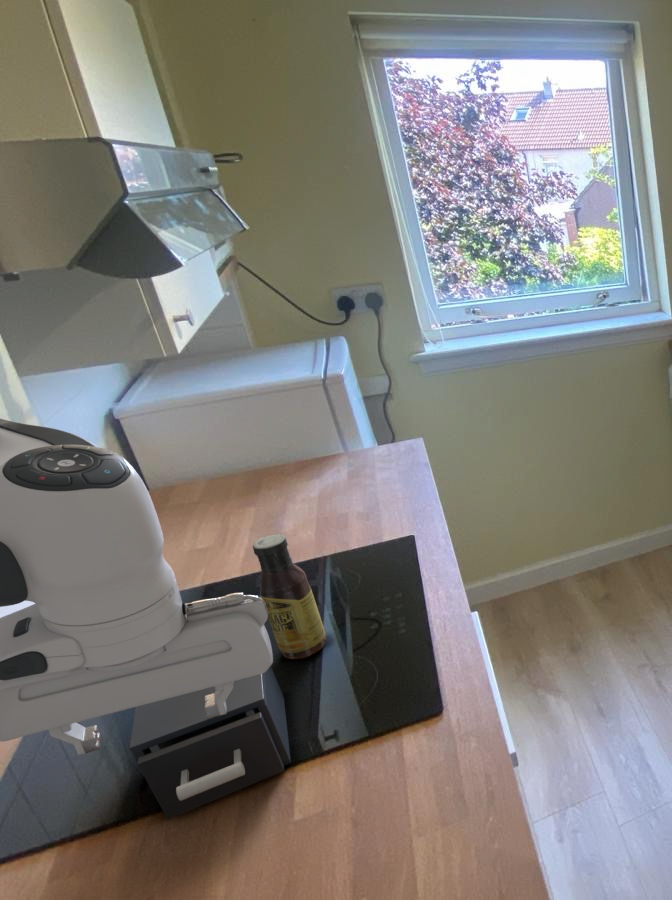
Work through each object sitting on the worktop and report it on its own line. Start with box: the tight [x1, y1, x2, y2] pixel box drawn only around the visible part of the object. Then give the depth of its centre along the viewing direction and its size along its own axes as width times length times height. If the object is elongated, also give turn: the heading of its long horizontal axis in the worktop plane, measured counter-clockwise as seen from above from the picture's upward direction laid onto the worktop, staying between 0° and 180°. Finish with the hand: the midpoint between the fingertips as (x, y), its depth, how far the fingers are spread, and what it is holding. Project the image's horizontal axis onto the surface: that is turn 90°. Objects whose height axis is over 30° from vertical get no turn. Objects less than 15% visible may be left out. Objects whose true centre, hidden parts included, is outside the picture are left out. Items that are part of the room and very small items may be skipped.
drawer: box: [137, 708, 285, 820], centre depth 90 cm, size 18×12×9 cm, turn 36°
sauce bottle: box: [252, 533, 328, 660], centre depth 111 cm, size 6×6×20 cm
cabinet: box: [128, 665, 292, 767], centre depth 94 cm, size 15×13×11 cm
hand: (156, 729), depth 71 cm, fingers open, 8 cm apart
